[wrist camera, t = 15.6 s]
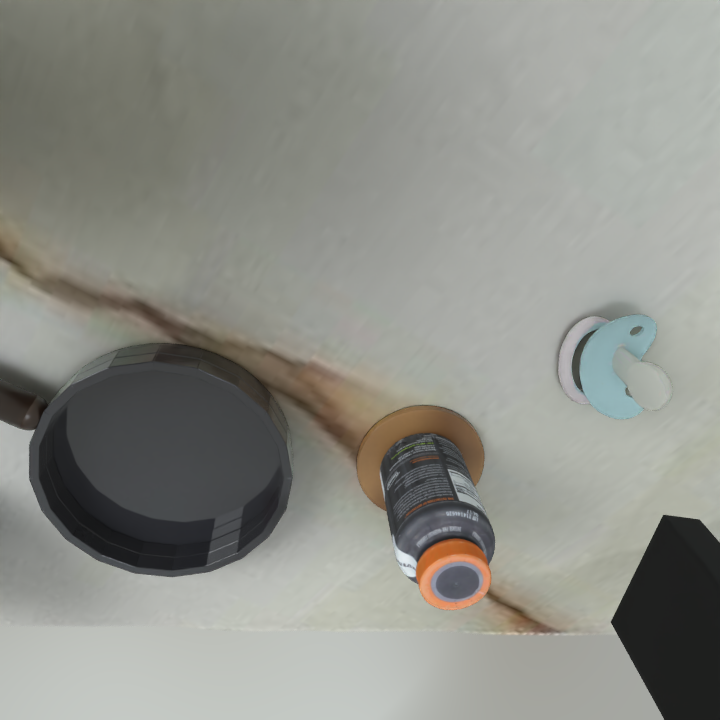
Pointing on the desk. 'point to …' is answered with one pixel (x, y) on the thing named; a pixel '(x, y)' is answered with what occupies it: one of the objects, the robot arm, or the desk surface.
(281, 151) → the desk surface
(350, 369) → the desk surface
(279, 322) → the desk surface
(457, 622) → the desk surface
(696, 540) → the robot arm
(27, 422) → the pan handle
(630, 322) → the pacifier
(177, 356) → the pan
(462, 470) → the pill bottle
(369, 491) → the coaster
